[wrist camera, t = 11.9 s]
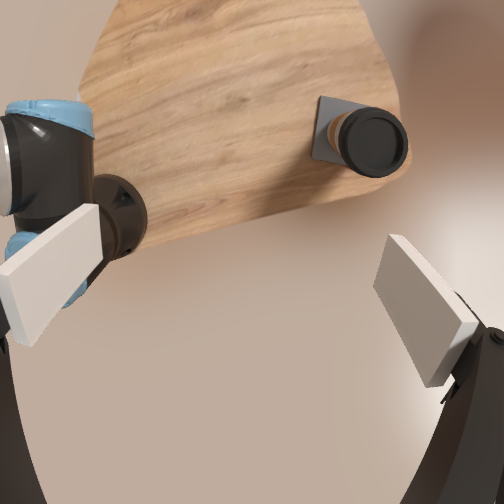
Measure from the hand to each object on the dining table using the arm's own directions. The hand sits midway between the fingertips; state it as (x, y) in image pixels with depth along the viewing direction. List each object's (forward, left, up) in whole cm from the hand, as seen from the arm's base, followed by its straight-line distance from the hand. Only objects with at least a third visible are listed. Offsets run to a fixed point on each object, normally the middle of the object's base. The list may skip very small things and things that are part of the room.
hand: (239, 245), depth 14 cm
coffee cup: (+13, +4, -37) cm, 39 cm away
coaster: (+13, +4, -37) cm, 39 cm away
